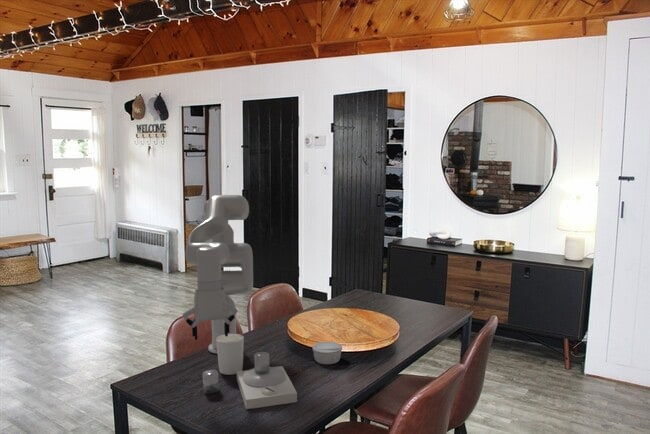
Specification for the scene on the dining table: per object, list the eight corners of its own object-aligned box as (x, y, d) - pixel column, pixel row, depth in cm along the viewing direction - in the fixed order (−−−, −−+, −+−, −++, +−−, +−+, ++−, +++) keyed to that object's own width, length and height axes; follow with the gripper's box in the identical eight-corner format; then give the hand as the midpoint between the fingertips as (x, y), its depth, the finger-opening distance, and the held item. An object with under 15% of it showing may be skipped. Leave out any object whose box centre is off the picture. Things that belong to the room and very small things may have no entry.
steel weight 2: (253, 369, 180) (253, 352, 179) (268, 367, 181) (267, 351, 180) (255, 375, 175) (255, 358, 174) (270, 373, 176) (270, 356, 176)
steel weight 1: (201, 390, 173) (200, 372, 173) (215, 385, 176) (214, 368, 175) (207, 395, 169) (205, 377, 168) (221, 390, 172) (220, 373, 171)
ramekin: (325, 368, 191) (325, 354, 190) (306, 359, 199) (306, 345, 199) (348, 360, 198) (348, 347, 197) (329, 352, 206) (329, 339, 206)
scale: (236, 379, 181) (236, 368, 180) (282, 374, 185) (282, 363, 185) (246, 409, 160) (245, 396, 159) (297, 402, 164) (297, 389, 164)
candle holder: (218, 377, 183) (217, 344, 182) (216, 366, 192) (215, 334, 191) (246, 374, 186) (245, 341, 184) (243, 363, 195) (242, 332, 194)
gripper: (235, 280, 175) (236, 330, 177) (181, 284, 169) (183, 335, 171) (238, 285, 167) (239, 337, 169) (182, 290, 162) (184, 343, 164)
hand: (211, 336), depth 170 cm, fingers open, 9 cm apart
